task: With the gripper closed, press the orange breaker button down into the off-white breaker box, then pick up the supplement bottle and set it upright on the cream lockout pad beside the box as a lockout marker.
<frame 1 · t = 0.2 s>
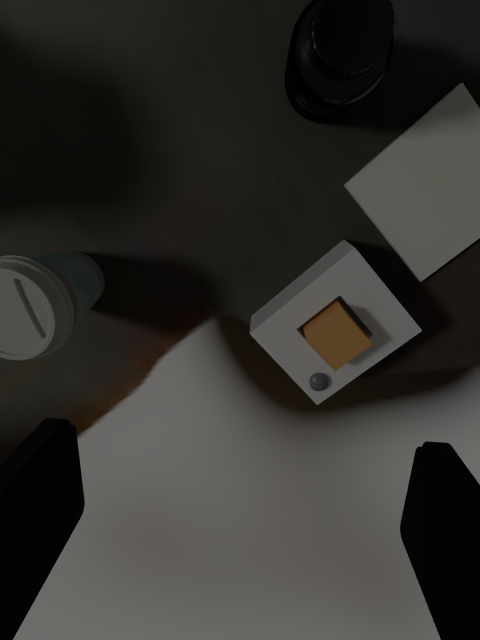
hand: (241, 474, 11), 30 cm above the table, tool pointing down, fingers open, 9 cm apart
lockout pad: (436, 189, 36), on the table
supplement bottle: (323, 79, 34), on the table
breaker button: (335, 332, 36), point 5 cm above the table, slide at 0.0 cm
coffee cup: (78, 278, 41), on the table
breaker box: (326, 314, 41), on the table
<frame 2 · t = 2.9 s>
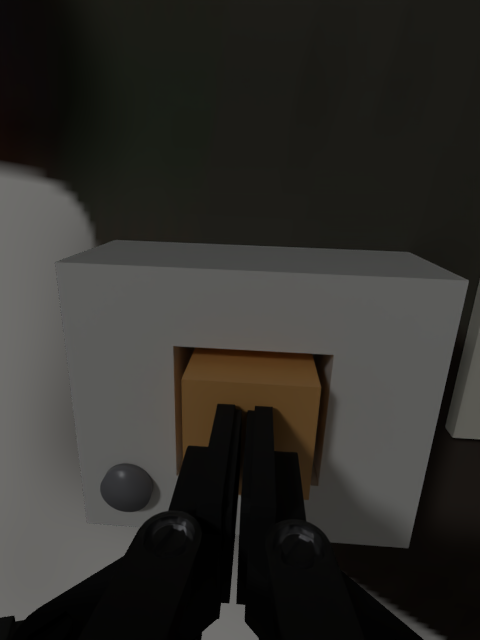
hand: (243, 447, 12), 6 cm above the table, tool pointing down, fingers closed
breaker button: (250, 404, 14), point 4 cm above the table, slide at 1.2 cm, touching gripper
breaker box: (254, 357, 18), on the table
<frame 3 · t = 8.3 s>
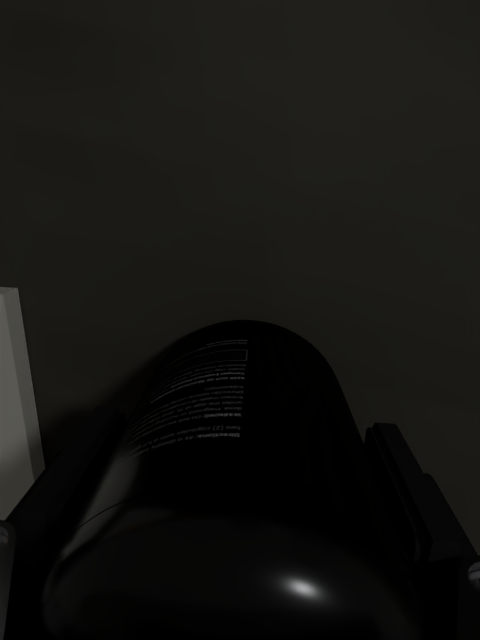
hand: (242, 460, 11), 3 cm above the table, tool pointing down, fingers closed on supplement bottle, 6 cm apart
supplement bottle: (247, 400, 15), on the table, touching gripper
when the fingers open (5 cm above the table, at t = 13.7 s): supplement bottle drops 1 cm, resting on lockout pad.
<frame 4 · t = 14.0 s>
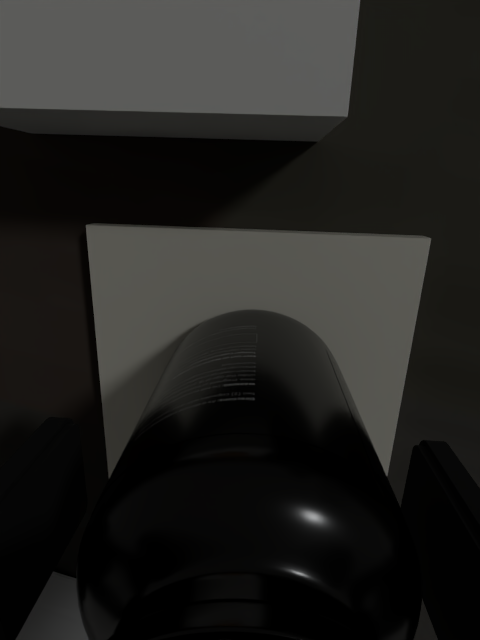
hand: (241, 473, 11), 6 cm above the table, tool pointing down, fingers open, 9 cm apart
lockout pad: (249, 376, 16), on the table
supplement bottle: (254, 384, 16), point 1 cm above the table, touching lockout pad
electrical switch: (94, 610, 22), on the table
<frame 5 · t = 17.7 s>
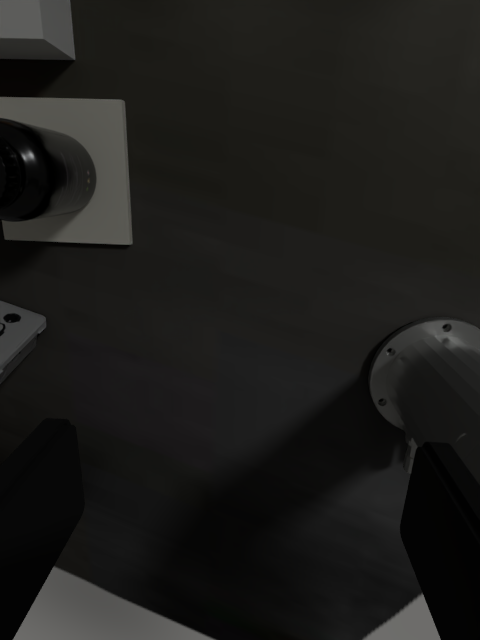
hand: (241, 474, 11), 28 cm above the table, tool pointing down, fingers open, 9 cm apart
lockout pad: (63, 174, 36), on the table
supplement bottle: (63, 174, 35), point 1 cm above the table, touching lockout pad
electrical switch: (6, 324, 41), on the table
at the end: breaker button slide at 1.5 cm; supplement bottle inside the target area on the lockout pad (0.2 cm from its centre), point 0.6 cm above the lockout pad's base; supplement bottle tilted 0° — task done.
